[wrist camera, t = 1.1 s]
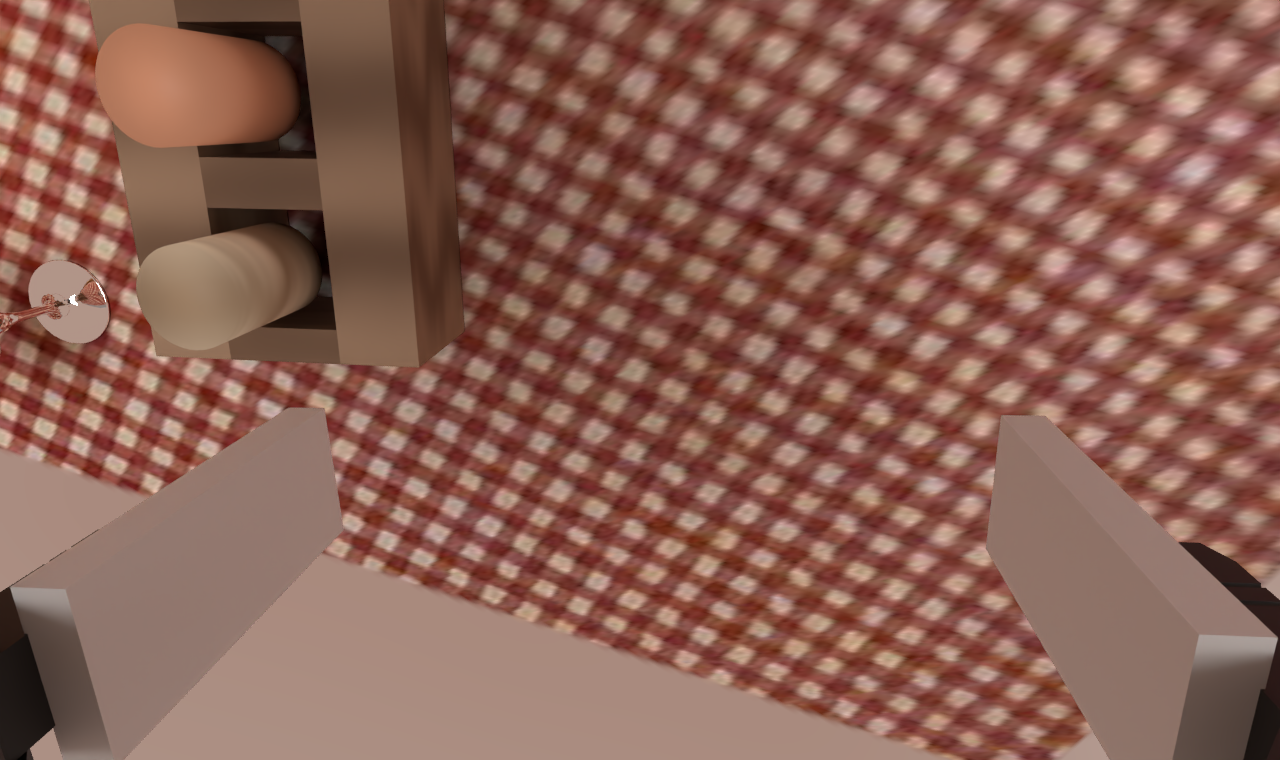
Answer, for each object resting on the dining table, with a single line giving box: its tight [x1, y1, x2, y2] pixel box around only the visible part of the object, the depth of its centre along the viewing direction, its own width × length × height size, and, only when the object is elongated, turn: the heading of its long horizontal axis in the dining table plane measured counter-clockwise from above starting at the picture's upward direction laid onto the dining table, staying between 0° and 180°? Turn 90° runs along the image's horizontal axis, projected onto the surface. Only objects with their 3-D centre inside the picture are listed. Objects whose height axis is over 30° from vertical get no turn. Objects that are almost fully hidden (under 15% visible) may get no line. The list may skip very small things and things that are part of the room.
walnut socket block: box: [89, 0, 464, 367], centre depth 34 cm, size 22×12×6 cm, turn 179°
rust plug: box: [95, 23, 301, 148], centre depth 29 cm, size 4×4×6 cm
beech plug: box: [136, 222, 322, 350], centre depth 31 cm, size 4×4×6 cm
